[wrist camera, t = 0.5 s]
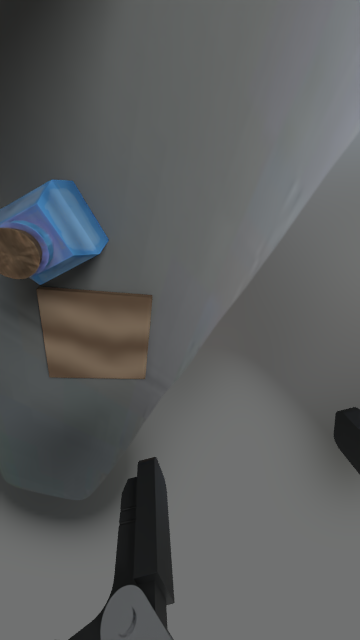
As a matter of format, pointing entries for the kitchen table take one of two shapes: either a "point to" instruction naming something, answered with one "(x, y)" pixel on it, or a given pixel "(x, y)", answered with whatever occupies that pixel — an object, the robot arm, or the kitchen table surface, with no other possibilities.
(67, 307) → the walnut board
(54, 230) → the perfume bottle
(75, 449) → the kitchen table surface
